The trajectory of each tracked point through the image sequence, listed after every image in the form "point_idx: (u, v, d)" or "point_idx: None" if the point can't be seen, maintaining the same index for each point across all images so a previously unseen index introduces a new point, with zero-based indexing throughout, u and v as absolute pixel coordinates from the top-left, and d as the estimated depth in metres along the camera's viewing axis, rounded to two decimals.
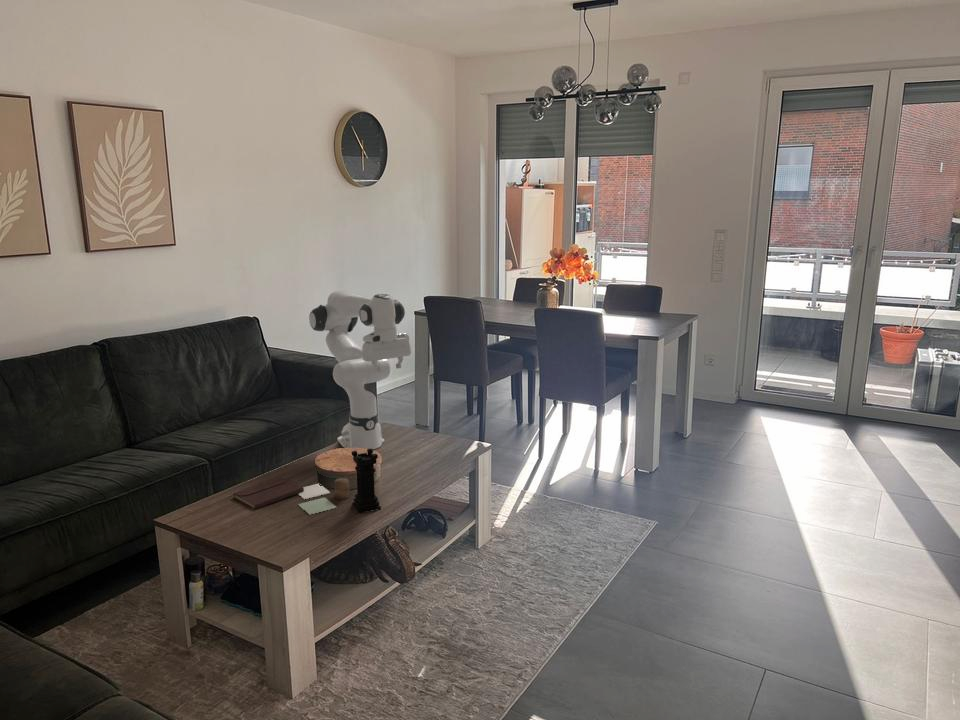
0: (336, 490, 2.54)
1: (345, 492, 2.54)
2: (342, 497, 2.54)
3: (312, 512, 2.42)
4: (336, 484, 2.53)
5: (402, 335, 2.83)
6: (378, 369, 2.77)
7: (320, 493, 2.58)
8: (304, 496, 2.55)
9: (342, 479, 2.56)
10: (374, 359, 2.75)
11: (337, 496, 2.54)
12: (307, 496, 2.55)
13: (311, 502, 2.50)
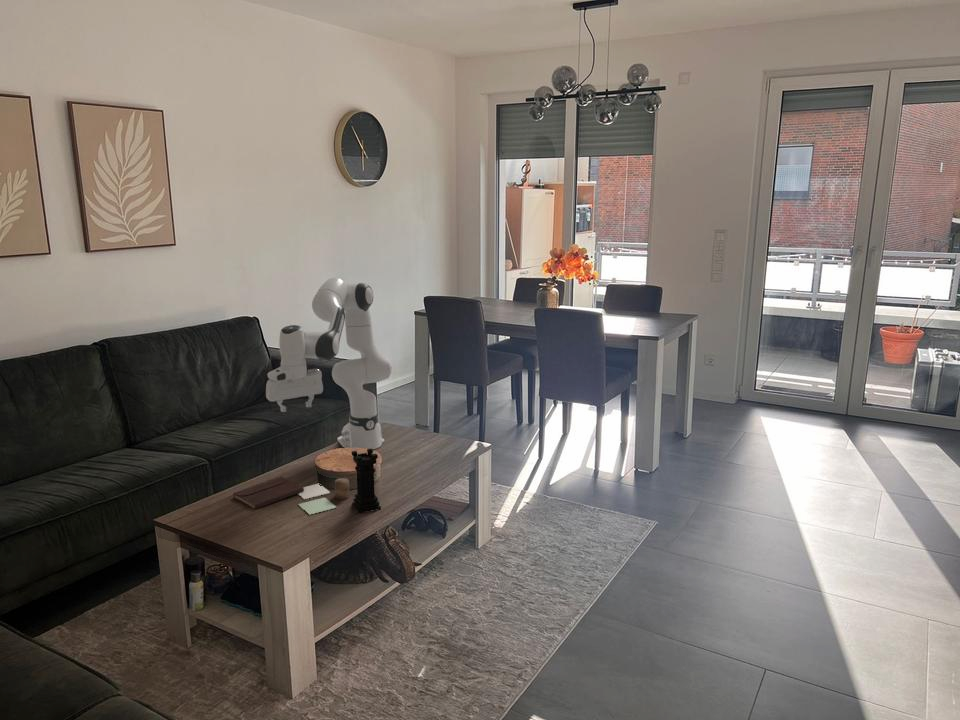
0: (336, 490, 2.54)
1: (345, 492, 2.54)
2: (342, 497, 2.54)
3: (312, 512, 2.42)
4: (336, 484, 2.53)
5: (313, 371, 2.54)
6: (284, 409, 2.49)
7: (320, 493, 2.58)
8: (304, 496, 2.55)
9: (342, 479, 2.56)
10: (279, 399, 2.47)
11: (337, 496, 2.54)
12: (307, 496, 2.55)
13: (311, 502, 2.50)
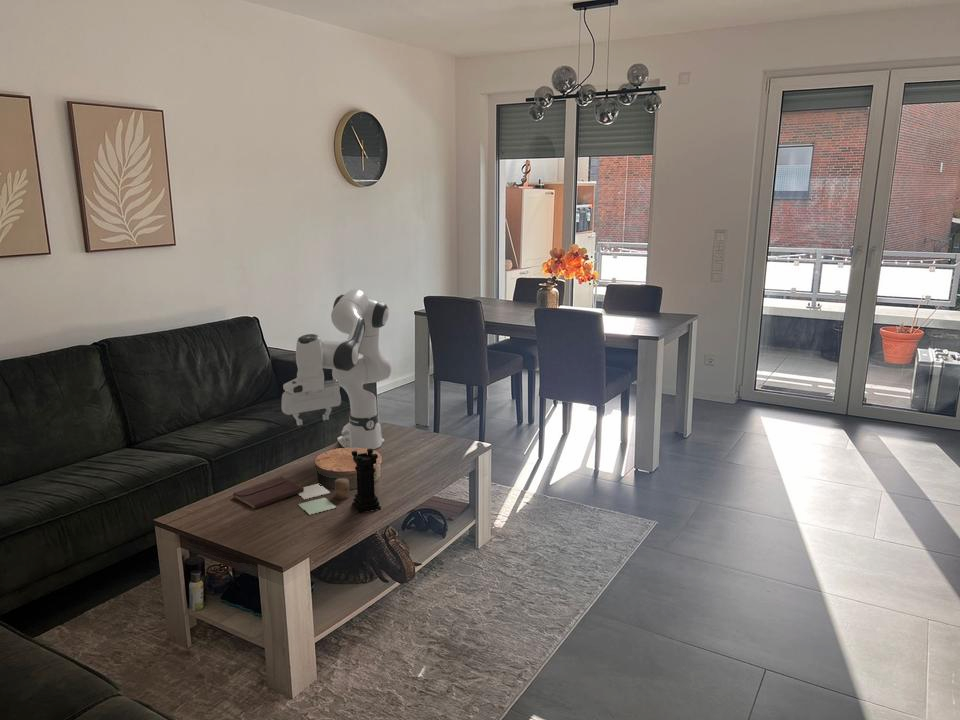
0: (336, 490, 2.54)
1: (345, 492, 2.54)
2: (342, 497, 2.54)
3: (312, 512, 2.42)
4: (336, 484, 2.53)
5: (331, 382, 2.41)
6: (300, 422, 2.37)
7: (320, 493, 2.58)
8: (304, 496, 2.55)
9: (342, 479, 2.56)
10: (295, 412, 2.34)
11: (337, 496, 2.54)
12: (307, 496, 2.55)
13: (311, 502, 2.50)
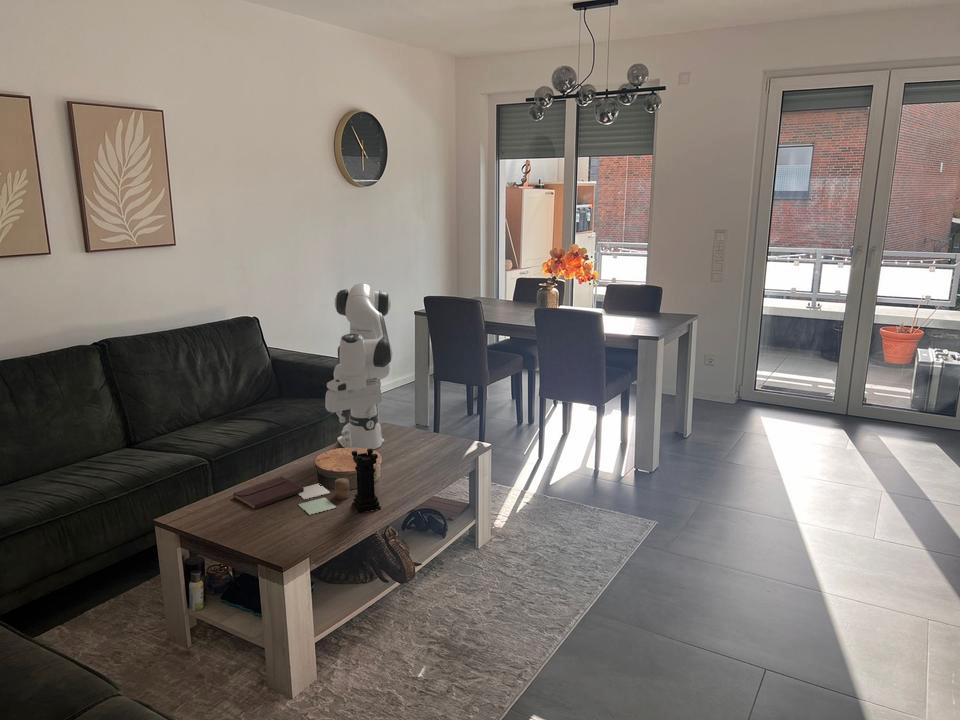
0: (336, 490, 2.54)
1: (345, 492, 2.54)
2: (342, 497, 2.54)
3: (312, 512, 2.42)
4: (336, 484, 2.53)
5: (373, 380, 2.47)
6: (343, 420, 2.42)
7: (320, 493, 2.58)
8: (304, 496, 2.55)
9: (342, 479, 2.56)
10: (338, 409, 2.39)
11: (337, 496, 2.54)
12: (307, 496, 2.55)
13: (311, 502, 2.50)
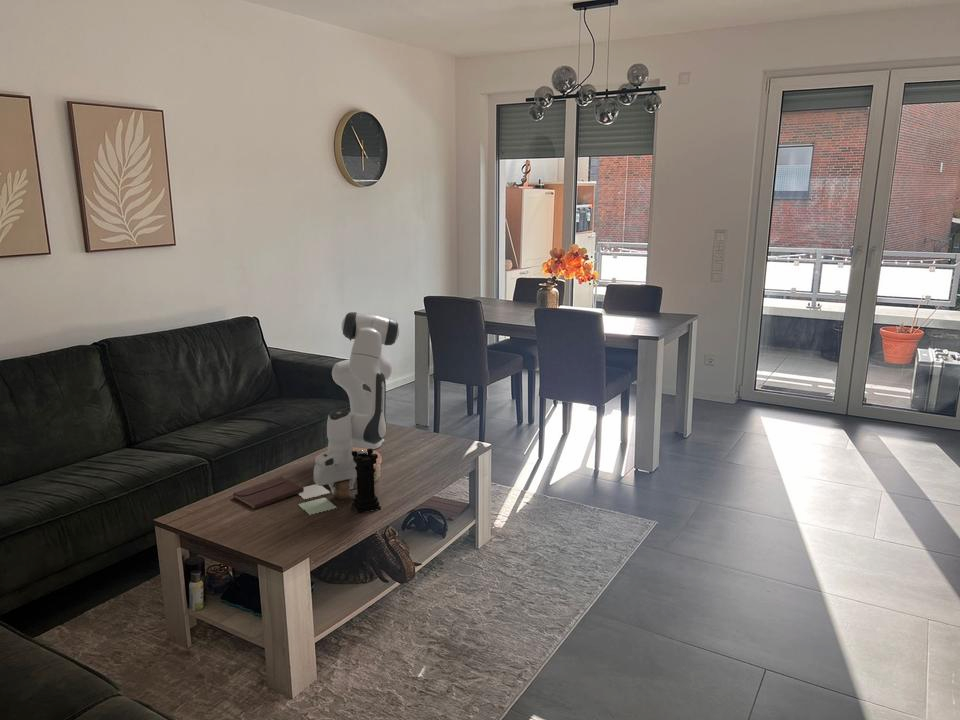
0: None
1: (345, 492, 2.54)
2: (342, 497, 2.54)
3: (312, 512, 2.42)
4: (336, 484, 2.53)
5: (359, 453, 2.57)
6: (334, 491, 2.53)
7: (320, 493, 2.58)
8: (304, 496, 2.55)
9: None
10: (326, 483, 2.49)
11: (337, 496, 2.54)
12: (307, 496, 2.55)
13: (311, 502, 2.50)
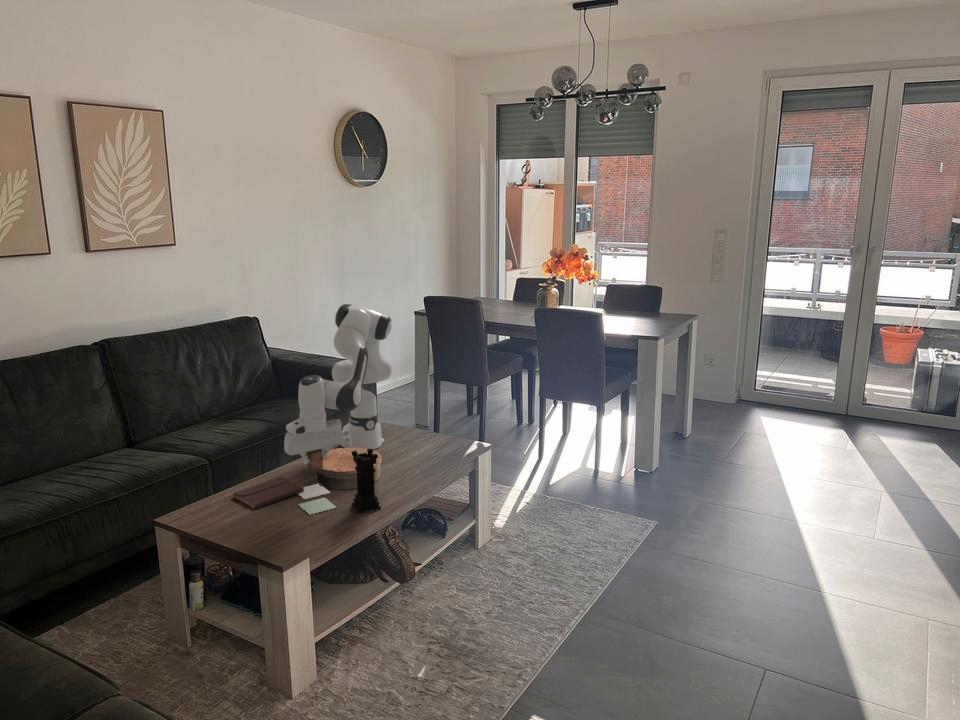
0: (309, 460, 2.42)
1: (317, 462, 2.42)
2: (315, 468, 2.42)
3: (312, 512, 2.42)
4: (308, 454, 2.41)
5: (333, 422, 2.45)
6: (307, 461, 2.41)
7: (320, 493, 2.58)
8: (304, 496, 2.55)
9: None
10: (298, 452, 2.37)
11: (310, 467, 2.42)
12: (307, 496, 2.55)
13: (311, 502, 2.50)
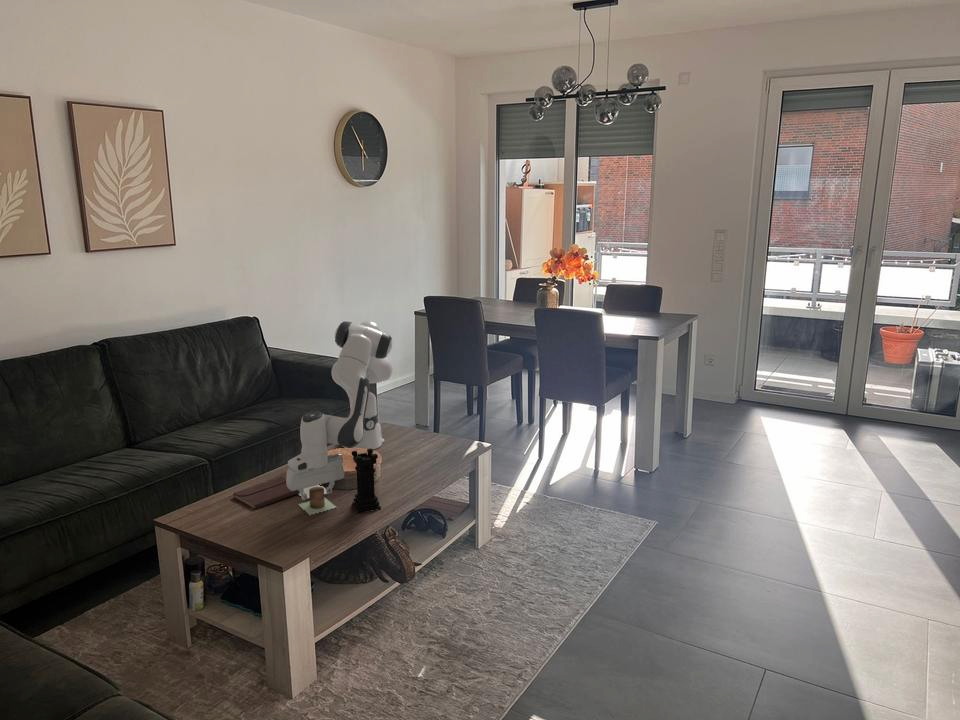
0: (310, 499, 2.45)
1: (319, 501, 2.45)
2: (317, 506, 2.45)
3: (312, 512, 2.42)
4: (310, 493, 2.44)
5: (335, 456, 2.48)
6: (305, 497, 2.43)
7: None
8: None
9: (317, 488, 2.47)
10: (299, 488, 2.40)
11: (311, 505, 2.45)
12: (307, 496, 2.55)
13: None
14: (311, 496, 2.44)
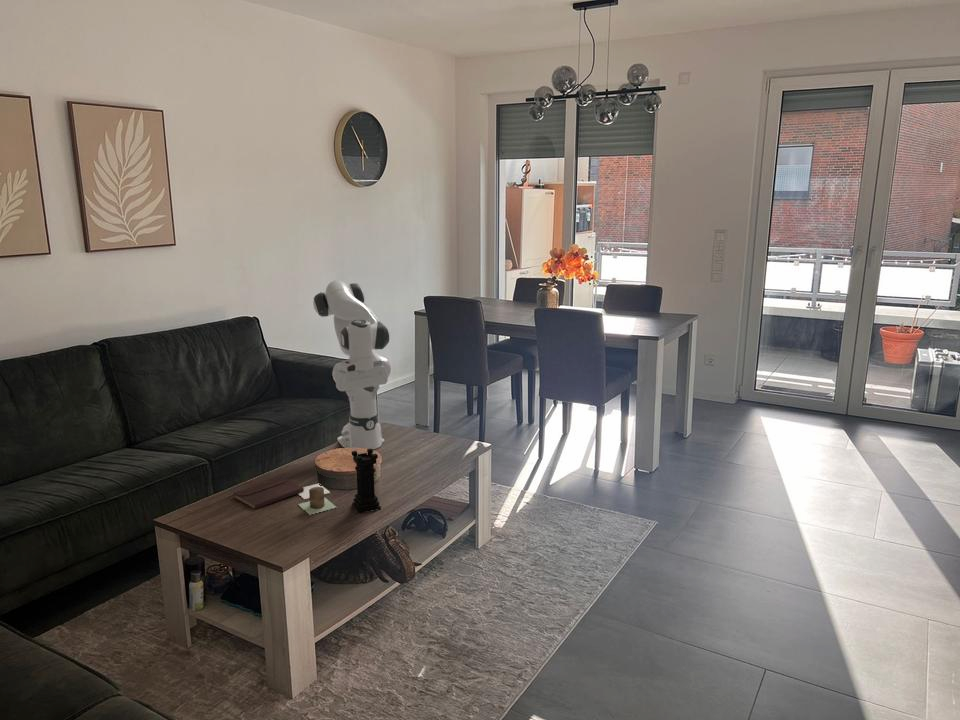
0: (310, 499, 2.45)
1: (319, 501, 2.45)
2: (317, 506, 2.45)
3: (312, 512, 2.42)
4: (310, 493, 2.44)
5: (379, 363, 2.69)
6: (352, 398, 2.65)
7: None
8: (304, 496, 2.55)
9: (317, 488, 2.47)
10: (348, 389, 2.62)
11: (311, 505, 2.45)
12: (307, 496, 2.55)
13: None
14: (311, 496, 2.44)
